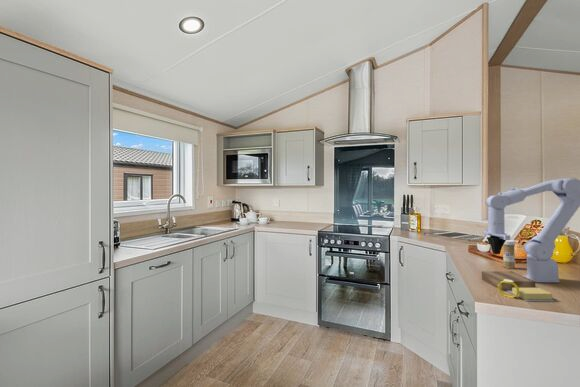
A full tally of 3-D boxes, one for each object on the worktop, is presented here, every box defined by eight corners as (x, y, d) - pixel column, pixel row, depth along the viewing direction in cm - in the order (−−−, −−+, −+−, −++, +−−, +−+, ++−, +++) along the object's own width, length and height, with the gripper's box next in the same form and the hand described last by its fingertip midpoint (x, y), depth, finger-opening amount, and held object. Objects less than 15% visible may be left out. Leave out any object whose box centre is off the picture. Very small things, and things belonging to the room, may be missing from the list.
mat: (531, 290, 106) (531, 289, 106) (555, 301, 95) (555, 300, 95) (506, 290, 106) (506, 289, 106) (526, 301, 96) (526, 300, 96)
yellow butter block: (552, 293, 96) (552, 299, 96) (538, 287, 102) (538, 293, 102) (524, 293, 97) (524, 299, 97) (512, 287, 103) (512, 292, 103)
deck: (511, 279, 119) (511, 271, 119) (535, 290, 106) (535, 281, 106) (481, 279, 120) (481, 271, 120) (501, 290, 107) (501, 281, 107)
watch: (519, 298, 100) (520, 282, 99) (517, 300, 98) (518, 284, 97) (499, 292, 104) (500, 277, 104) (496, 294, 103) (497, 278, 102)
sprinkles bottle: (503, 268, 135) (502, 240, 135) (503, 266, 139) (503, 239, 138) (515, 269, 132) (514, 241, 132) (515, 267, 136) (514, 240, 136)
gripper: (476, 221, 129) (477, 250, 129) (497, 224, 115) (497, 257, 115) (492, 220, 129) (493, 250, 129) (515, 224, 114) (515, 257, 114)
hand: (496, 253), depth 122 cm, fingers closed
